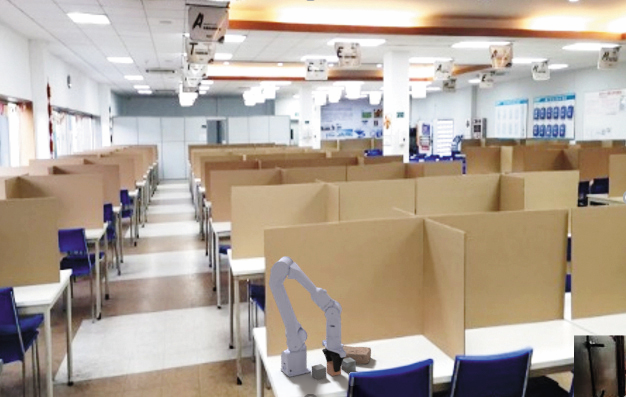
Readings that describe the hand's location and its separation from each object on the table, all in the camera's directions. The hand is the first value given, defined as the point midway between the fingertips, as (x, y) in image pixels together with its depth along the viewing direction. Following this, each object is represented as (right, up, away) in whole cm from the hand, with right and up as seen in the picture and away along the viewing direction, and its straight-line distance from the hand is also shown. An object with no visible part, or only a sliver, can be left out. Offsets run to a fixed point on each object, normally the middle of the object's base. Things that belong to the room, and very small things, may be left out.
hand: (333, 369), depth 212 cm
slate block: (+6, -1, +3) cm, 7 cm away
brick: (+7, -1, +14) cm, 16 cm away
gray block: (-6, -2, -3) cm, 7 cm away
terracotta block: (0, -1, 0) cm, 1 cm away
